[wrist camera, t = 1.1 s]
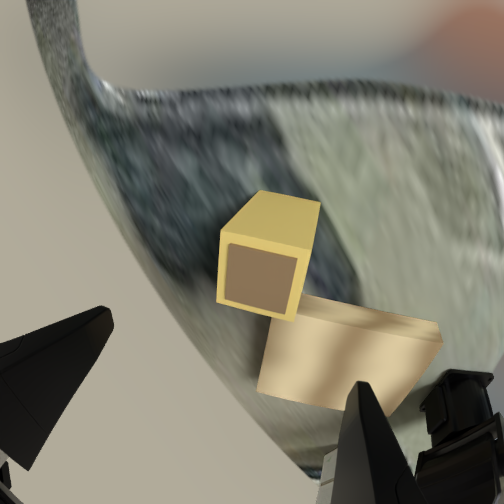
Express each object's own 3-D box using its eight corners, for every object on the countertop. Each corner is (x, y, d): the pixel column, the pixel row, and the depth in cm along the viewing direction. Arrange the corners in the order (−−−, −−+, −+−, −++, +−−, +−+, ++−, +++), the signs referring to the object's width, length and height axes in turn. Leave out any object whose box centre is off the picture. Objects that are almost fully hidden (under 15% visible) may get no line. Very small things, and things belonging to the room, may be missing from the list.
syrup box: (323, 455, 32) (302, 546, 20) (349, 440, 29) (332, 544, 17) (354, 463, 32) (340, 549, 19) (382, 449, 29) (372, 546, 16)
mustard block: (320, 202, 18) (311, 252, 12) (308, 257, 20) (292, 324, 14) (259, 189, 19) (218, 232, 13) (252, 244, 21) (215, 304, 15)
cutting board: (436, 322, 19) (443, 343, 17) (388, 396, 24) (389, 416, 22) (280, 288, 22) (273, 308, 20) (262, 371, 26) (255, 391, 24)
